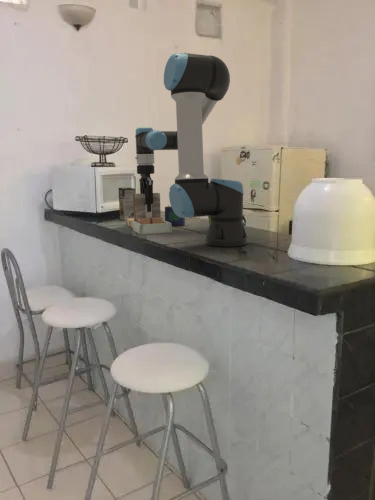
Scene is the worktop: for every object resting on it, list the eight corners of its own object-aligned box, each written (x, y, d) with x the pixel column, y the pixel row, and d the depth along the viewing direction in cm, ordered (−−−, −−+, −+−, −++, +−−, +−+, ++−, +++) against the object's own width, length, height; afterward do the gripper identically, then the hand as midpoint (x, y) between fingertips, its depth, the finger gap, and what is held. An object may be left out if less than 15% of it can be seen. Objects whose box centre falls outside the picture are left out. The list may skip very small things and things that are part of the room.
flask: (185, 225, 214) (184, 202, 212) (184, 226, 211) (184, 202, 209) (165, 225, 214) (164, 202, 212) (164, 226, 211) (164, 203, 209)
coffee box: (119, 219, 238) (117, 187, 235) (131, 218, 240) (130, 187, 237) (124, 221, 230) (123, 188, 226) (136, 220, 232) (135, 188, 229)
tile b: (148, 229, 200) (150, 230, 197) (138, 230, 198) (140, 231, 196) (147, 217, 199) (149, 218, 196) (137, 218, 197) (139, 219, 195)
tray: (171, 232, 194) (171, 223, 193) (140, 234, 189) (140, 225, 188) (163, 228, 205) (162, 219, 204) (133, 230, 200) (132, 221, 199)
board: (160, 228, 204) (160, 222, 203) (136, 230, 200) (135, 223, 200) (147, 222, 222) (147, 216, 222) (125, 224, 219) (125, 218, 218)
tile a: (160, 228, 202) (162, 229, 199) (151, 229, 201) (152, 230, 198) (160, 217, 201) (162, 217, 198) (150, 217, 200) (152, 218, 197)
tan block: (160, 220, 203) (159, 193, 200) (136, 222, 199) (135, 194, 196) (157, 219, 206) (157, 192, 204) (133, 221, 203) (132, 193, 200)
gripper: (132, 164, 204) (134, 216, 209) (142, 165, 189) (144, 221, 193) (148, 164, 207) (149, 215, 212) (159, 164, 191) (161, 220, 196)
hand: (147, 218), depth 202 cm, fingers closed on tan block, 4 cm apart
